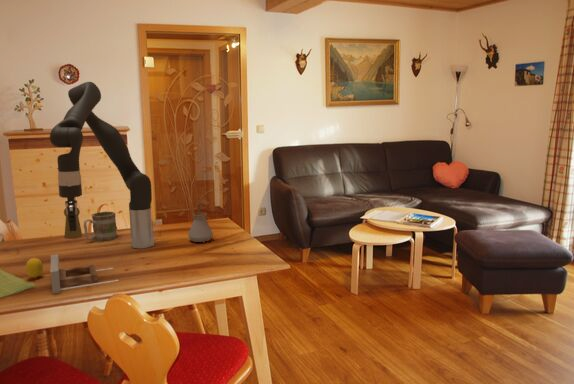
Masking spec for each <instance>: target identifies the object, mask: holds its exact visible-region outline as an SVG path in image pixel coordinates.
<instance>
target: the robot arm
mask: <svg viewBox="0 0 574 384" xmlns="http://www.w3.org/2000/svg"><path fill="white" fill-rule="evenodd" d="M67 95H68V98H69V101H70V102H71V104H72V106H71V107H70V108H69V109H68V110H67V111H66V113H65V115H64V118H63V119H62V120H61V121H59V123H57V124H56V125H55V126H54V127H53V128H52V129H51V131H50V133H49V141H50V143H51V145H53V146H54V147H56V148H71V149H70V151H69V152H66V153H63V154H59V155H58V156H57V159H56V160H57V171H58V172H57V173H58V174H57V181H58V182H57V183H58V184H57V186H58V194H59V195H58V196H59V197H60V198H64V199H65V198H66V199H67V200H65V202H64V205H65V206H64V207H65V208H66V212H67V215H68V221H69V228H70V231H72V230H73V231H76V214H77V208H78V200H76V198H78V197H81V196H83V189H82V188H83V187H82V175H81V170H80V169H81V168H80V154H81V149H82V145H83V140H84V134H83V132H82V131H83V128H84V126H85V123H86V124H87V126H88V127H89V128H90V130H91V131H92V133H93V134H94V136H95V138H96V139H97V141H98V143H99V145H100V147H102V149H103V151H104V152H105V154H106V156H108V158H109V159H110V160H111V162H112V163H113V164H114V166H115V167H116V168H117V171H118V172H119V174H120V176H121V178H122V179H123V182H124V184H125V186H126V188H127V189H128V190H129V194H130V195H129V196H130V199H129V200H130V201H129V203H128V212H129V213H128V214H129V225H130V226H129V227H130V238H131V239H130V241H131V242H130V243H131V247H132V248H133V249H147V248H151V247H154V246H155V240H154V238H155V237H154V226H153V224H152V223H153V222H152V221H153V220H152V206H151V205H152V200H153V199H152V198H153V197H152V192H153V191H152V181H151V179H150V177H149V176H148V175H146V174H145V173H143V172H142V171H141V170H139V168H138V167H137V165H136V164H135V162H134V161H133V159H132V156H131V153H130V150H129V148H128V146H127V143H126V141H125V139H124V138H123V136H122V134H121V132H120V131H119V129H117V127H115V126H113V125H112V124H110V123H108V122H106V121H105V120H103V119H101V118H100V117H99V116H97V115H96V114H95V113H94V111H93V110H94V108H95V107H96V106H97V105H98V104H99V103H100V101H101V99H102V94H101V90H100V88H99V87H98V85H96V84H95V82H93V81H86V82H83V83H80V84H78V85H76V86H74V87H72V88H70V89H69V90H68V92H67ZM70 215H74V217H70Z"/></svg>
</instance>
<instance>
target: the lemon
mask: <svg viewBox="0 0 574 384" xmlns="http://www.w3.org/2000/svg"><path fill="white" fill-rule="evenodd" d="M43 271H44V265H43V263H42V261H41V259H39V258H36V257H32V258H30V259H29V260H27V262H26V264H25V272H26V274H27V275H28V276H29V277H31V278H34V279H37V278H38V277H40V276H41V275H42V274H43Z"/></svg>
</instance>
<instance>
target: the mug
mask: <svg viewBox="0 0 574 384" xmlns="http://www.w3.org/2000/svg"><path fill="white" fill-rule="evenodd" d="M91 217H92V219H89V218H86V219H85V220H84V221H83V229H84V235H85V238H86V239H88V240H91V239H93V240H94V242H99V243H100V242H102V243H105V242H111V241H114V240H116V239H118V235H117V234H118V233H117V222H116V221H117V220H116V212H114V211H100V212H95V213H92V214H91ZM87 222H90V224H92V230H93V235H91V236H89V235H88V234H89V233H88V228H87Z"/></svg>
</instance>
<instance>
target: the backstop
mask: <svg viewBox="0 0 574 384" xmlns="http://www.w3.org/2000/svg"><path fill="white" fill-rule="evenodd" d="M59 270H60V259H59V254H58V253H57V254H51V255H50V271H49V272H50V281H51V291H52V295H54V294H61V291H65V290H66V291H67V290H72V289H78V288H79V289H80V288H85V287H90V286H91V287H93V286H98V285H105V284H110V283H117V282H119V279H115V280H107V281H100V282H98V283H93V284H87V285H80V286H74V287H67V288H61V289H60V273H59ZM110 270H115V268H114V267H108V268H101V269H96V273H97V272H103V271H110Z"/></svg>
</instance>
